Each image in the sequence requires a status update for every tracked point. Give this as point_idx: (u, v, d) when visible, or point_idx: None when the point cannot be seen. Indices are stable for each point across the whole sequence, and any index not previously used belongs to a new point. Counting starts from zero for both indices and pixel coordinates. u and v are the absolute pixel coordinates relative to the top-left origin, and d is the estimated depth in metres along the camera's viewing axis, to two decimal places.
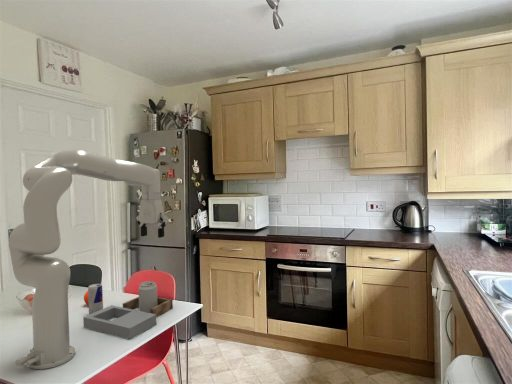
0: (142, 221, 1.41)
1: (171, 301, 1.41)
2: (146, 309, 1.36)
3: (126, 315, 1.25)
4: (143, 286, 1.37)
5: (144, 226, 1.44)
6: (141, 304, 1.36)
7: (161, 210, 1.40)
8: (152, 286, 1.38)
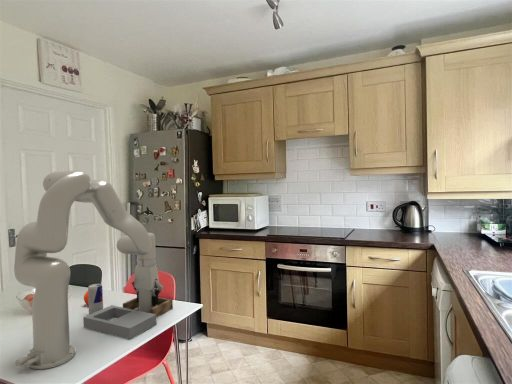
0: (137, 287, 1.38)
1: (171, 301, 1.41)
2: (146, 309, 1.36)
3: (126, 315, 1.25)
4: None
5: None
6: (141, 304, 1.36)
7: (156, 276, 1.37)
8: None
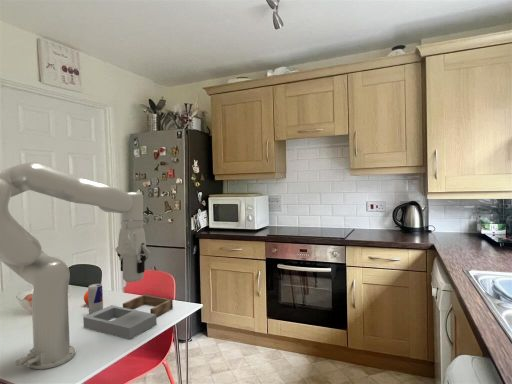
0: (121, 252, 1.22)
1: (171, 301, 1.41)
2: (130, 276, 1.21)
3: (126, 315, 1.25)
4: None
5: None
6: (125, 271, 1.21)
7: (143, 240, 1.22)
8: None
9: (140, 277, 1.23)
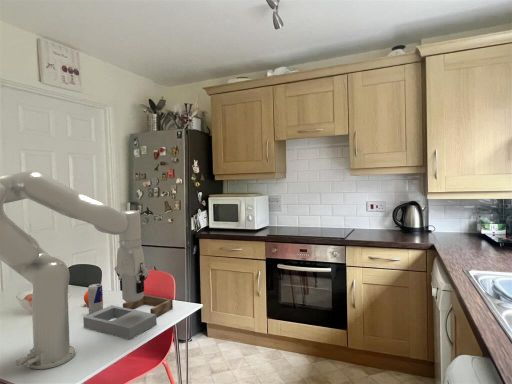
0: (120, 272, 1.20)
1: (171, 301, 1.41)
2: (130, 297, 1.19)
3: (126, 315, 1.25)
4: None
5: None
6: (124, 292, 1.19)
7: (142, 260, 1.20)
8: None
9: (140, 297, 1.21)
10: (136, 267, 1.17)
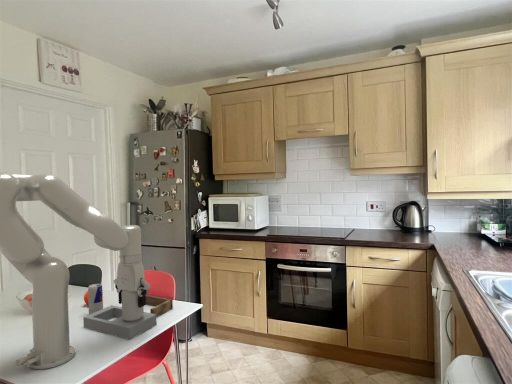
0: (120, 287, 1.20)
1: (171, 301, 1.41)
2: (130, 316, 1.19)
3: None
4: (126, 290, 1.19)
5: None
6: (124, 311, 1.19)
7: (142, 275, 1.20)
8: None
9: (140, 316, 1.21)
10: (136, 282, 1.18)
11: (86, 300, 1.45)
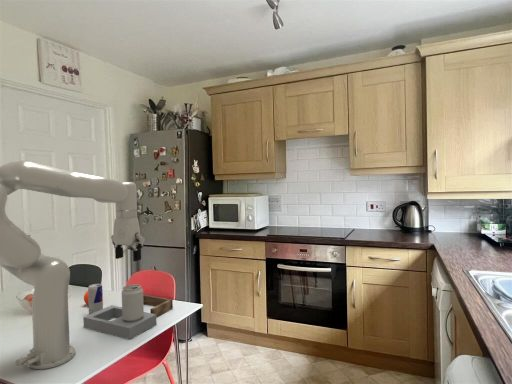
0: (116, 242, 1.24)
1: (171, 301, 1.41)
2: (130, 316, 1.19)
3: None
4: (127, 290, 1.19)
5: (119, 247, 1.27)
6: (124, 311, 1.19)
7: (137, 230, 1.23)
8: (137, 290, 1.20)
9: (140, 316, 1.21)
10: (131, 236, 1.20)
11: (86, 300, 1.45)
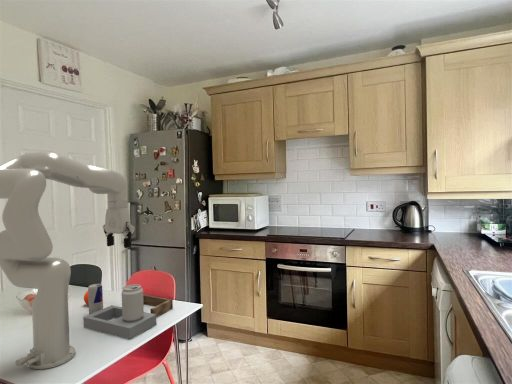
0: (108, 230, 1.34)
1: (171, 301, 1.41)
2: (130, 316, 1.19)
3: None
4: (127, 290, 1.19)
5: (111, 235, 1.38)
6: (124, 311, 1.19)
7: (127, 219, 1.34)
8: (137, 290, 1.20)
9: (140, 316, 1.21)
10: (122, 225, 1.31)
11: (86, 300, 1.45)
